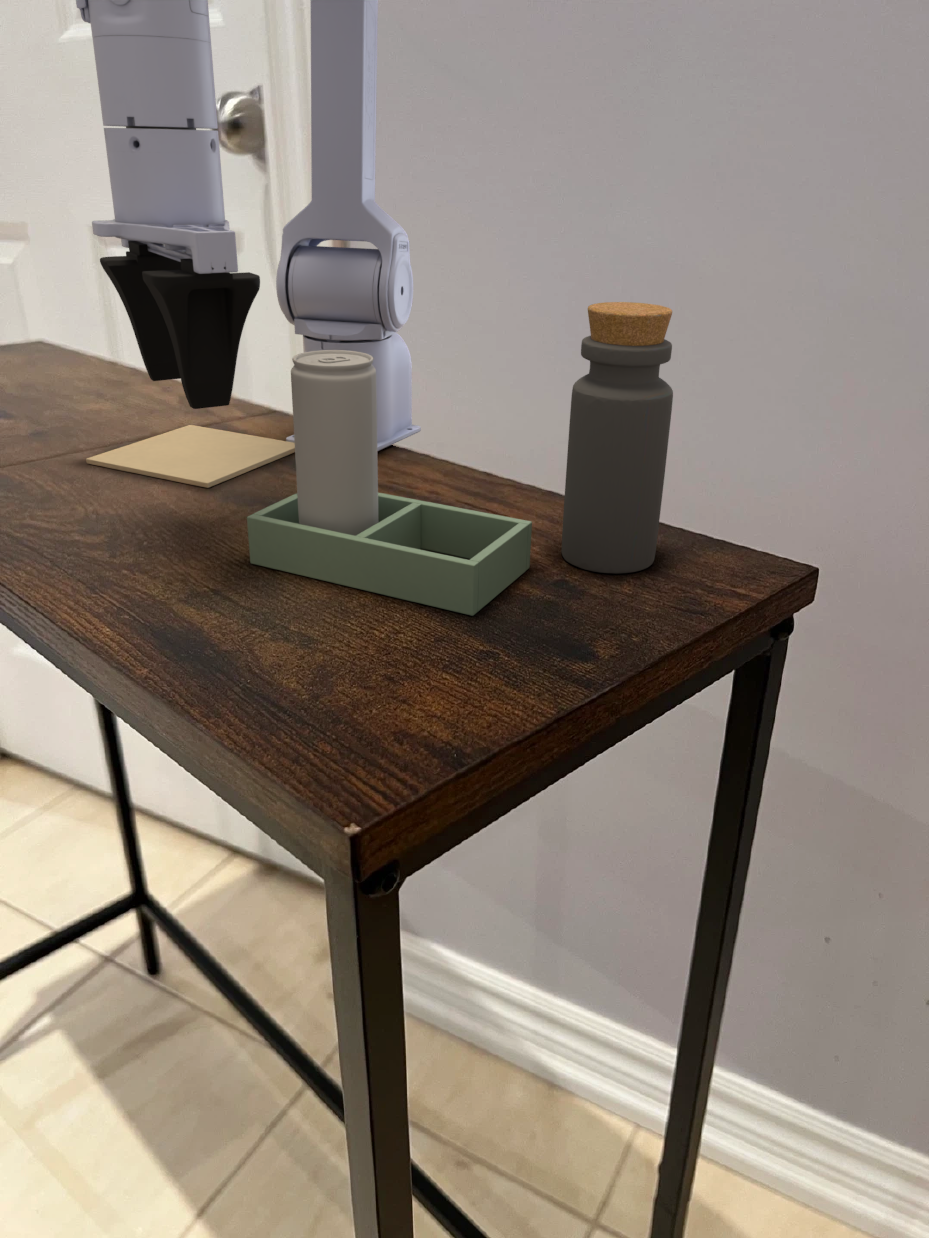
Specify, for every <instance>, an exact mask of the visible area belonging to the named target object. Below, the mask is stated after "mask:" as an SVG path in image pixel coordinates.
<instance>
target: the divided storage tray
mask: <svg viewBox="0 0 929 1238" xmlns="http://www.w3.org/2000/svg"><path fill="white" fill-rule="evenodd" d="M378 517H379V523H377V524H375V525H373V526H372V527H370V528H368V529H367V530H365V531H363V532H361V533H360V534H358V535H356V536H354V535H349V534H344V533H339V532H335V531H330V530H325V529H320V528H316V527H311V526H306V525H302V524H299V514H298V496H297V492H296V493H293V494H292V495H290V496H288V497H286V498H284V499H281V500H279V501H277V502H275V503H273V504H270V505H268V506H266V507H264V508H262V509H260V510H258V511H256V512H253V513H252V514H250V515H247V516H246V524H247V538H248V549H249V550H248V552H249V562H250V564H251V565H255V566H260V567H265V568H268V569H273V570H278V571H281V572H285V573H289V574H294V575H298V576H303V577H307V578H311V579H316V580H319V581H324V582H327V583H332V584H336V585H339V586H344V587H349V588H353V589H358V590H361V591H366V592H370V593H375V594H378V595H382V596H387V597H392V598H395V599H400V600H403V601H408V602H413V603H417V604H421V605H424V606H430V607H433V608H437V609H441V610H446V611H451V612H455V613H459V614H462V615H463V614H464V615H468V616H472V617H473V616H475V615H476V614H477V613H478V612H479V611H481V610H482V609H483V608H484V607H485V606H487V605H488V604H489V603H490V602H491V601H492V600H493V599H495V598H496V597H497V596H498V595H499V594H500V593H502V592H503V591H504V590H505V589H506V588H508V587H509V586H510V585H511V584H512V583H514V582H515V581H516V580H517V579H518V578H519V577H520V576H522V575H523V574H524V573H525V572H526V571H528V570H529V569H530V566H531V551H532V550H531V549H532V534H533V533H532V530H533V522H532V520H526V519H525V520H524V519H520V518H515V517H511V516H505V515H500V514H494V513H489V512H484V511H479V510H473V509H469V508H468V509H467V508H463V507H457V506H452V505H447V504H443V503H437V502H431V501H425V500H420V499H415V498H409V497H405V496H400V495H394V494H389V493H383V492H378Z"/></svg>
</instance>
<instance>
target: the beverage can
mask: <svg viewBox="0 0 929 1238" xmlns="http://www.w3.org/2000/svg"><path fill="white" fill-rule="evenodd" d="M291 359H292V363H293V367H291V369H290V383H291V384H290V385H291V386H290V387H291V401H292V402H291V403H292V422H293V423H292V424H293V435H294V441H295V452H294V457H295V474H296V476H295V477H296V493H297V496H298V514H299V524H302V525H306V526H311V527H316V528H320V529H325V530H330V531H335V532H339V533H344V534H349V535H354V536H356V535H358V534H360V533H361V532H363V531H365V530H367V529H368V528H370V527H372V526H373V525H375V524H377V523H379V517H378V493H379V468H378V467H379V465H378V464H379V463H378V460H379V459H378V451H377V395H376V369H375V368H374V366H373V365H372V363H373V357H372V356H371V355H369V354H366V353H362V352H356V351H346V350H320V351H310V352H304V353H303V352H302V353H301V352H300V353H298V354H295V355H293V356H292V358H291Z"/></svg>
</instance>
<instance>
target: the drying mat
mask: <svg viewBox="0 0 929 1238" xmlns="http://www.w3.org/2000/svg"><path fill="white" fill-rule="evenodd" d="M291 454H295V443H293V442H287V441H286V440H281V439H276V438H275V439H274V438H270V437H265V436H264V437H263V436H257V435H252V434H246V433H242V432H241V433H240V432H235V431H228V430H224V429H223V430H222V429H217V428H212V427H205V426H200V425H194V424H188V425H185V426H181V427H179V428H176V429H173V430H170V431H167V432H164V433H160V434H158V435H155V436H151V437H149V438H146V439H142V440H139V441H136V442H133V443H130V444H127V445H124V446H120V447H117V448H115V449H111V450H108V451H106V452H102V453H99V454H97V455H96V454H95V455H93V456H90V457H86V458H85V460H86V464H88V465H93V466H98V467H103V468H108V469H112V470H118V471H122V472H127V473H132V474H138V475H142V476H146V477H152V478H156V479H162V480H166V481H171V482H177V483H182V484H187V485H191V486H196V487H202V488H205V489H209V488H212V487H214V486H216V485H218V484H221V483H224V482H226V481H229V480H231V479H233V478H235V477H238V476H241V475H243V474H245V473H248V472H250V471H253V470H255V469H258V468H260V467H263V466H265V465H267V464H271V463H272V462H274V461H277V460H279V459H282V458H285V457H288V456H289V455H291Z"/></svg>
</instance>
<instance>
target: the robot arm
mask: <svg viewBox="0 0 929 1238" xmlns="http://www.w3.org/2000/svg"><path fill="white" fill-rule="evenodd" d="M75 6H76V8H77V9H79V12H80V17H81V19H82V21H84V23H88V24H90V30H91V37H92V44H93V54H94V62H95V70H96V77H97V86H98V94H99V103H100V110H101V118H102V126H103V133H104V142H105V150H106V157H107V165H108V166H107V167H108V174H109V183H110V191H111V198H112V207H113V215H114V218H113V219H108V220H107V219H105V220H104V219H103V220H101V219H100V220H92V221H91V226H92V227H91V228H92V233H93V235H94V236H97V237H102V238H117V239H120V242H121V243H120V244H121V247H123V248H126V249H128V251H125V255H118V256H117V255H115V256H113V255H112V256H102V257H100V258H99V263H100V265H101V268H102V269H103V271H104V273H105V274H106V275H107V277H108V278H109V280H110V282H111V283H112V285H113V287H114V289H115V290H116V292H117V294H118V296H119V298H120V300H121V302H122V304H123V307H124V309H125V311H126V314H127V316H128V319H129V322H130V324H131V328H132V330H133V333H134V336H135V340H136V343H137V346H138V349H139V353H140V356H141V358H142V362H143V364H144V367H145V370H146V372H147V374H148V377H149V379H150V380H151V381H152V382H161V381H172V380H180V382H181V386H182V390H183V392H184V395H185V398H186V400H187V403H188V405H189V407H190V408H192V409H193V410H199V409H209V408H218V407H226V406H227V407H228V406H230V402H231V399H232V394H233V389H234V388H233V387H234V382H235V376H236V368H237V367H236V366H237V360H238V353H239V348H240V344H241V337H242V334H243V330H244V327H245V324H246V321H247V318H248V315H249V312H250V310H251V308H252V305H253V303H254V301H255V298H257V297H256V296H257V295H258V293H259V291H260V287H261V277H260V275H258V274H256V273H253V272H247V271H246V272H239V265H238V251H237V237H236V231H235V230H231V227H230V221H229V220H227V219H226V213H225V201H224V200H225V199H224V188H223V175H222V163H221V162H222V161H221V149H220V148H221V147H220V137H219V130H217V129H218V128H219V125H218V124H219V123H218V114H217V102H216V101H217V99H216V87H215V76H214V74H215V73H214V62H213V49H212V38H211V36H212V35H211V24H210V12H209V11H210V10H209V0H75ZM378 16H379V0H310V138H311V139H310V142H311V143H310V145H311V146H310V148H311V149H310V150H311V152H310V155H311V157H310V159H311V163H310V164H311V177H310V178H311V200H310V202H309V203H308V204H307V205H306V206H305V207H304V208H303V209H302V210H301V211H299V212H298V213H297V214H296V215H294V217H293V218H291V220H289V221H288V222H287V223H286V224H285V225H284V226H283V228H282V235H281V249H280V256H279V262H278V264H277V269H276V278H275V288H276V297H277V302H278V306H279V309H280V311H281V313H282V315H284V317H285V319H286V320H287V321H288V323H289V324H291V325H292V326H294V334H295V335H301V336H302V348H303V349H302V353H304V352H310V351H320V350H346V351H356V352H362V353H366V354H369V355H371V356H372V357H373V363H372V365H373V366H374V368H375V369H376V395H377V452H379V451H381V450H383V449H385V448H388V447H390V446H392V445H395V444H396V443H399V442H400V441H402V440H405V439H407V438H409V437H411V436H413V435H415V434H418V433H420V432H421V431H422V427H421V426H420V425H418V424H413V372H412V371H413V362H412V356H411V351H410V350H409V347H408V345H407V343H406V341H405V340H404V338H403V337H402V336H401V335H400V334H399V333H398V332H399V331H400V330H402V328H403V327H404V325H406V324H407V322H408V321H409V318H410V316H411V312H412V307H413V300H414V274H413V267H412V264H411V252H410V249H411V248H410V247H411V245H410V239H409V235H408V233H407V231H406V230H405V229H404V227H403V226H402V225H401V224H400V223H399V222H398V221H396V220H395V218H393V217H392V216H391V215H390V214H388V212H386V211H385V210H384V209H383V207H381V206H380V205H379V204H378V203H377V202H376V163H377V159H376V158H377V155H376V154H377V150H376V149H377V99H378V98H377V95H378V92H377V91H378V87H377V85H378V31H379V30H378V28H379V27H378V26H379V24H378V21H379V17H378ZM203 129H204V130H203ZM215 129H216V130H215ZM326 241H347V242H367V243H370V244H372V245H373V246H374V247H375V248H366V247H365V248H361V247H345V246H344V247H342V246H341V247H340V246H323V245H320V244H321V243H322V242H326ZM285 441H287V442H293V443H295V441H294V434H292V435H288V436H287V437H286V438H285Z"/></svg>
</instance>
